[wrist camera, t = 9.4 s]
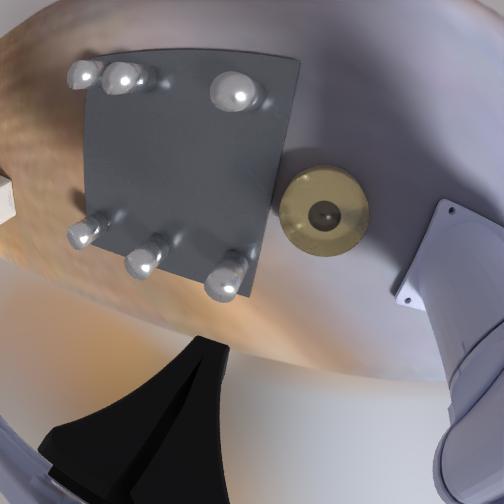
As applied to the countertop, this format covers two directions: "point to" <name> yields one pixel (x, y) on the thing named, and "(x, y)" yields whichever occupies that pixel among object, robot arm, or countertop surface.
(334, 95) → the countertop surface
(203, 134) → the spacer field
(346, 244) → the brass nut
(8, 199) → the ink box
